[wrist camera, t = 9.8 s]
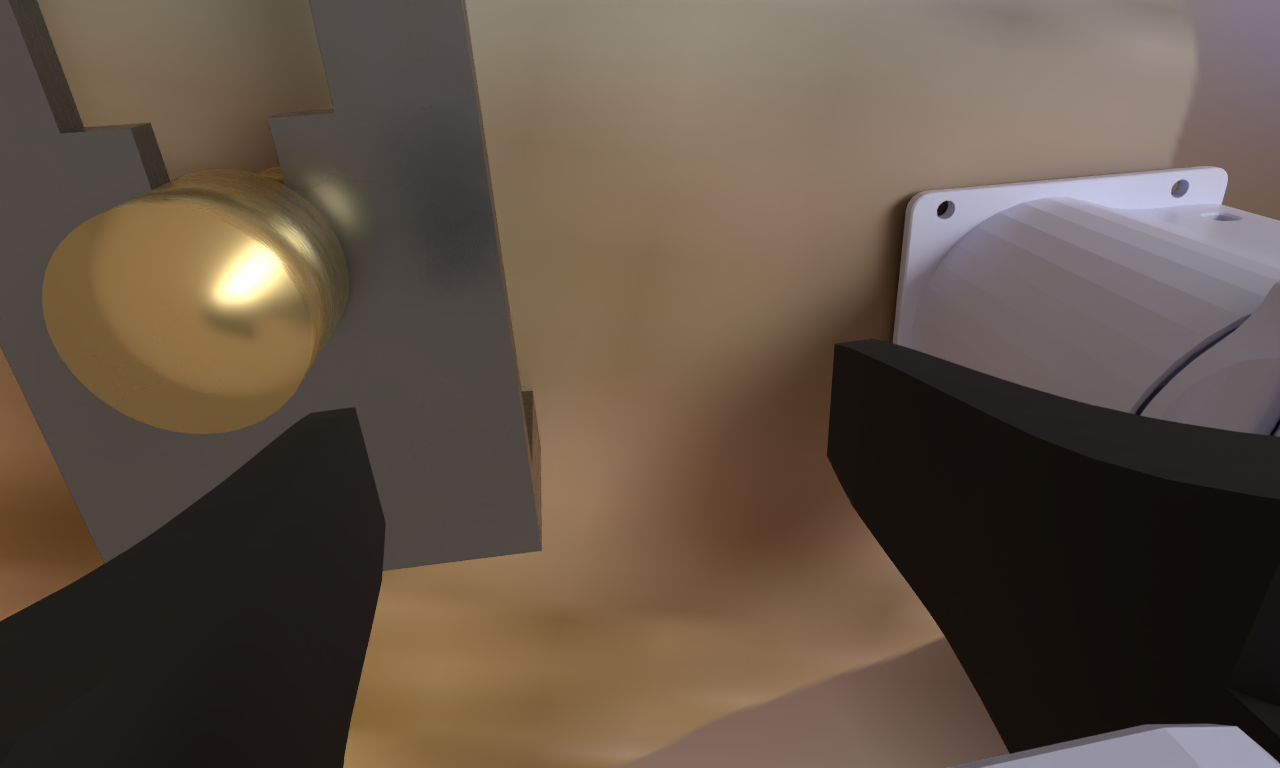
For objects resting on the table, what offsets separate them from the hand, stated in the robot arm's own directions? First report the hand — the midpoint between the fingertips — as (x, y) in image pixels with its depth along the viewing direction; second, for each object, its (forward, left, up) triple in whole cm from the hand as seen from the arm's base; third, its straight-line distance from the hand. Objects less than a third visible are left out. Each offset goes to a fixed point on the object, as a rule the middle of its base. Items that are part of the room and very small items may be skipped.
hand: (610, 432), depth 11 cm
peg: (+7, -1, -9) cm, 12 cm away
